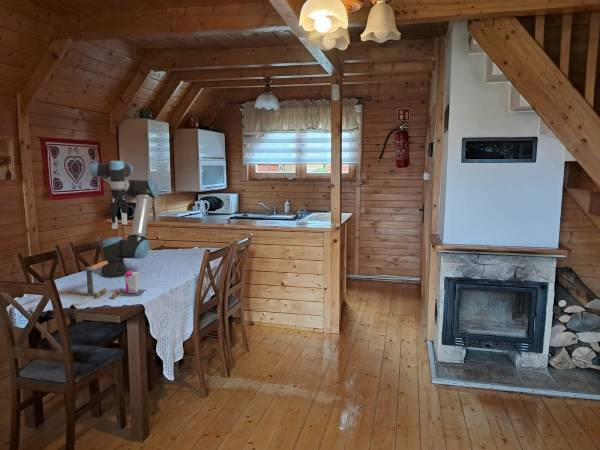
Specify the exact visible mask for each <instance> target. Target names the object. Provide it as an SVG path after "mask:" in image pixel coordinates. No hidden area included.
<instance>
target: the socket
mask: <svg viewBox="0 0 600 450" xmlns="http://www.w3.org/2000/svg"><path fill="white" fill-rule="evenodd" d="M93 282H94V281H93V270H92V271H86V284H87V285H86V286H87V287H86V288H87V296H88V297H95V298H98V299H100V298H101V297H103V296H104V295H105V294H107V288H104V287H103V288H102V289H101V290H99V291H98V292H94V283H93ZM122 290H123V289H122V288H118V289H117V290H116V291H114V292H113V293H112V294H111V298H112V299H111V300H115V299H116V298H118V297H119V296H120V295H121V294H122V293H123V292H122ZM103 294H104V295H103ZM118 295H119V296H118ZM100 296H101V297H100ZM99 297H100V298H99ZM114 298H115V299H114Z"/></svg>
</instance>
